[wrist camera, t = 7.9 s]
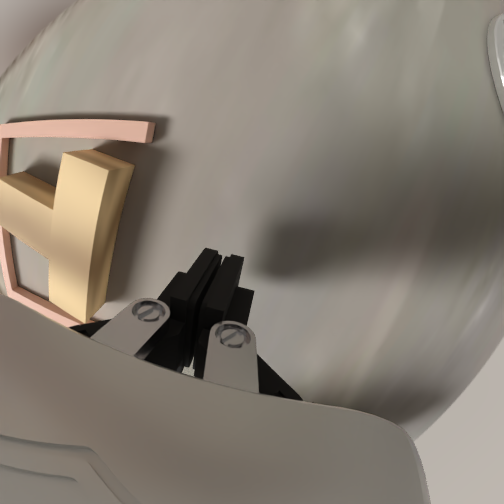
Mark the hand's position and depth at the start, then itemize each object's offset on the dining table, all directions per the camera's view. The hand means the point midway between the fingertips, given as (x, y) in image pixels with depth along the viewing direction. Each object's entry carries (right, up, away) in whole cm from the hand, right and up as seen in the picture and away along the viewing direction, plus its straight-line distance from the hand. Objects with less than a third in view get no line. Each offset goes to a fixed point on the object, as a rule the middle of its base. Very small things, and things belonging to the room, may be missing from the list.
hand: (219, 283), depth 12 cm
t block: (-10, +4, +2) cm, 11 cm away
